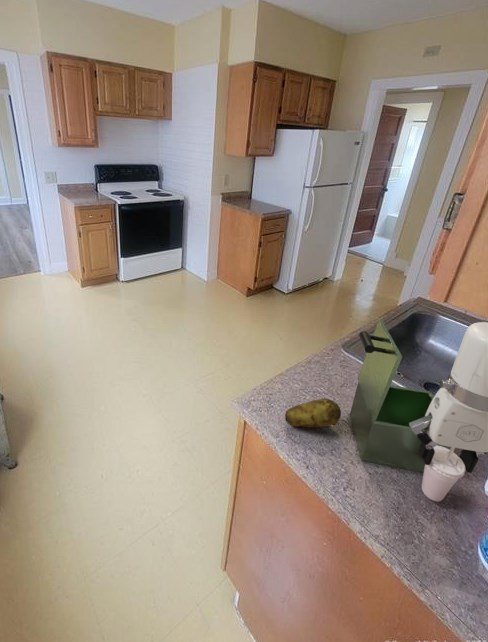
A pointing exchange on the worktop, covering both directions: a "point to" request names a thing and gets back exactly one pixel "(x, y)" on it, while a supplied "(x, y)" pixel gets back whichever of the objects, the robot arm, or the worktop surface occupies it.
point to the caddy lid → (377, 367)
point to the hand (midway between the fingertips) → (444, 461)
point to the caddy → (391, 428)
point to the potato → (314, 413)
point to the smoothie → (442, 473)
